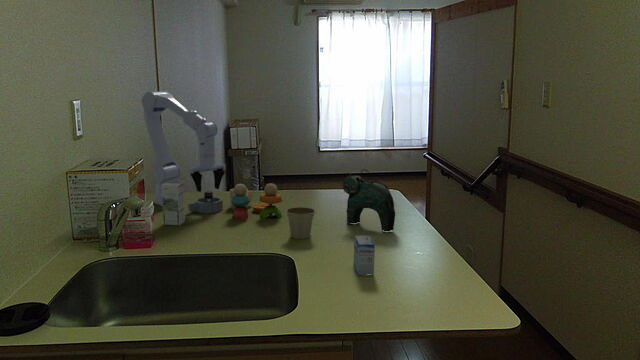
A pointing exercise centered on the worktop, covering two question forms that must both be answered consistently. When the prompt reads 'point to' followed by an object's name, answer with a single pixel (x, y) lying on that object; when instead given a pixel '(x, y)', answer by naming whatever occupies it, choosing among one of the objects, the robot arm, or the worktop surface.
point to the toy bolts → (263, 208)
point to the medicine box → (364, 255)
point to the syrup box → (173, 203)
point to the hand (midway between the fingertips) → (208, 190)
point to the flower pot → (300, 221)
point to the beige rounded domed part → (234, 194)
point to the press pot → (206, 205)
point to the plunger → (208, 195)
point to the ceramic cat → (369, 200)
